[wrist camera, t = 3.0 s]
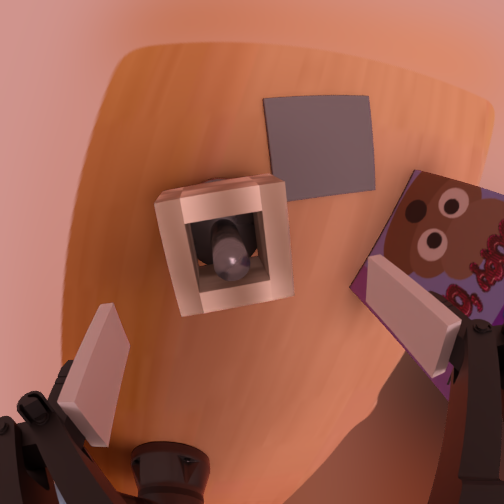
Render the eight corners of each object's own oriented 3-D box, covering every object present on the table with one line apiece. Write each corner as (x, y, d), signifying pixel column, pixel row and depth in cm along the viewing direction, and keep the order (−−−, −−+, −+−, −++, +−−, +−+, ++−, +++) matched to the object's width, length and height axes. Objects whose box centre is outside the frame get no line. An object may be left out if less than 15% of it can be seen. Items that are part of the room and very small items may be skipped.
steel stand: (189, 257, 33) (185, 325, 21) (175, 185, 30) (158, 216, 18) (261, 244, 34) (295, 304, 22) (252, 172, 31) (286, 194, 19)
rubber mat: (275, 201, 32) (276, 203, 32) (262, 99, 28) (263, 98, 28) (372, 189, 34) (375, 190, 33) (366, 96, 30) (368, 95, 29)
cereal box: (414, 169, 34) (582, 226, 12) (435, 188, 35) (587, 251, 13) (349, 287, 38) (466, 423, 16) (373, 298, 39) (485, 421, 17)
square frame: (183, 287, 28) (181, 316, 23) (162, 191, 24) (153, 203, 20) (279, 270, 29) (294, 295, 24) (269, 173, 25) (284, 181, 21)
